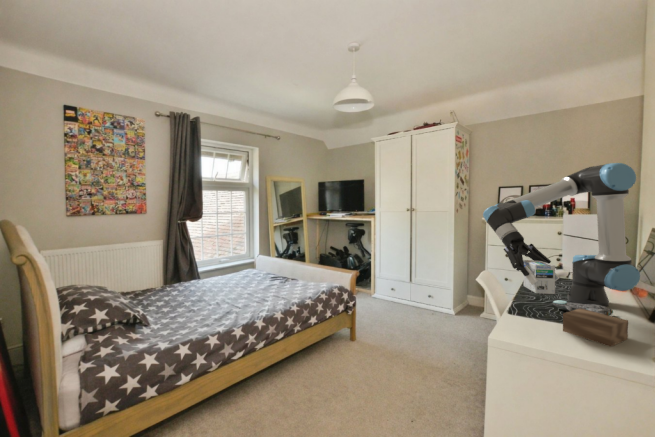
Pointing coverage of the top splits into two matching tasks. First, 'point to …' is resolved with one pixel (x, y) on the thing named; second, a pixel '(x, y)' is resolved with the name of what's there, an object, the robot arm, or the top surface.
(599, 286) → the robot arm
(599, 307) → the toy aircraft
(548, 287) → the light bulb box
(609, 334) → the walnut block
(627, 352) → the top surface
